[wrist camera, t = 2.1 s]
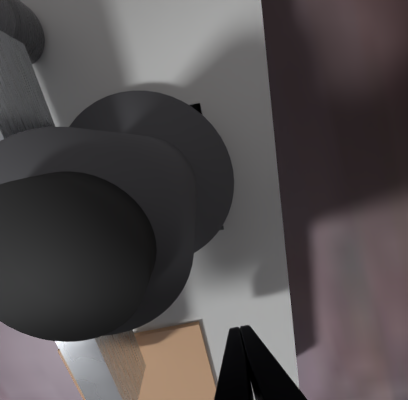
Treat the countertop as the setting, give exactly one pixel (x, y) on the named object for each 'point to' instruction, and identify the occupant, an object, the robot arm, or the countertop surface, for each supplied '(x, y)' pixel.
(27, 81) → the lever with ball end
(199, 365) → the white flat board
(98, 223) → the plug
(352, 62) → the countertop surface
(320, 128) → the countertop surface
